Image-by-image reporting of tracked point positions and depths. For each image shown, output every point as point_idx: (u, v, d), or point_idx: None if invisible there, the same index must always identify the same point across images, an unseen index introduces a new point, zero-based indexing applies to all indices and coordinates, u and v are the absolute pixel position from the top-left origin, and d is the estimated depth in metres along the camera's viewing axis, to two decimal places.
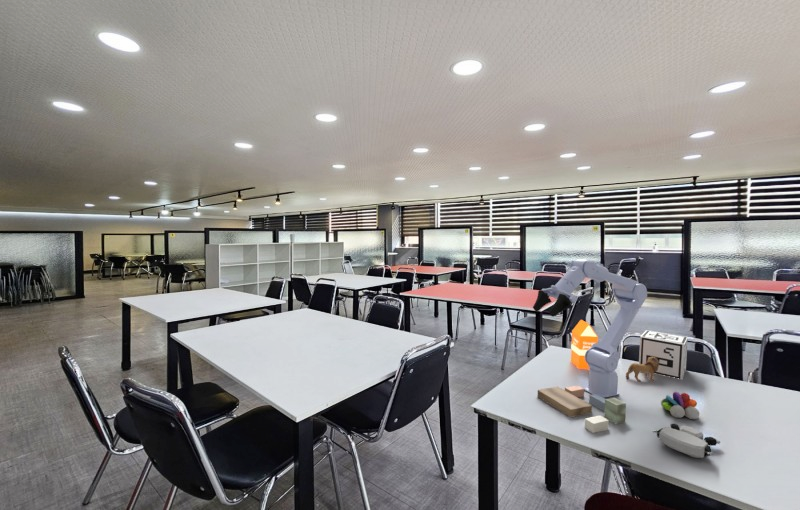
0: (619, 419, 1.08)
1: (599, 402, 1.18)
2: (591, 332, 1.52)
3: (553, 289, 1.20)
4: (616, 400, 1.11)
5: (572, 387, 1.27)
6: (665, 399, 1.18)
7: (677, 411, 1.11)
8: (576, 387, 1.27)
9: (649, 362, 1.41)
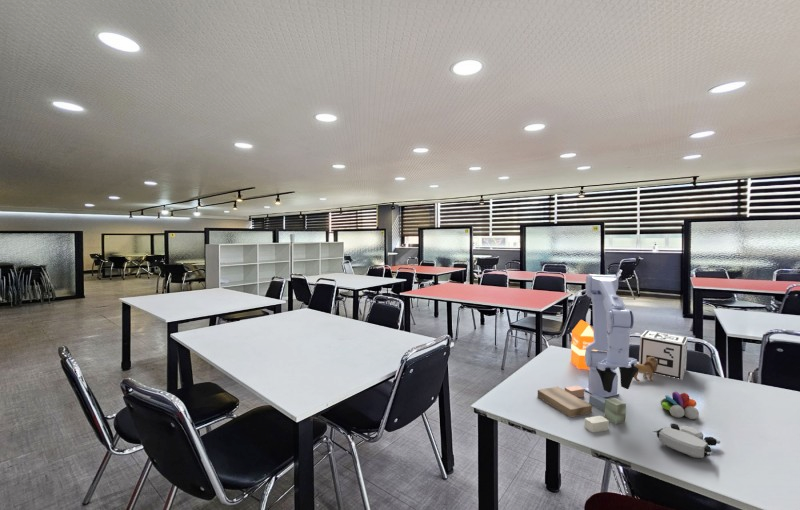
0: (619, 419, 1.08)
1: (598, 402, 1.18)
2: (591, 332, 1.52)
3: None
4: (616, 400, 1.11)
5: (572, 387, 1.27)
6: (665, 399, 1.18)
7: (676, 410, 1.11)
8: (576, 387, 1.27)
9: (648, 362, 1.41)
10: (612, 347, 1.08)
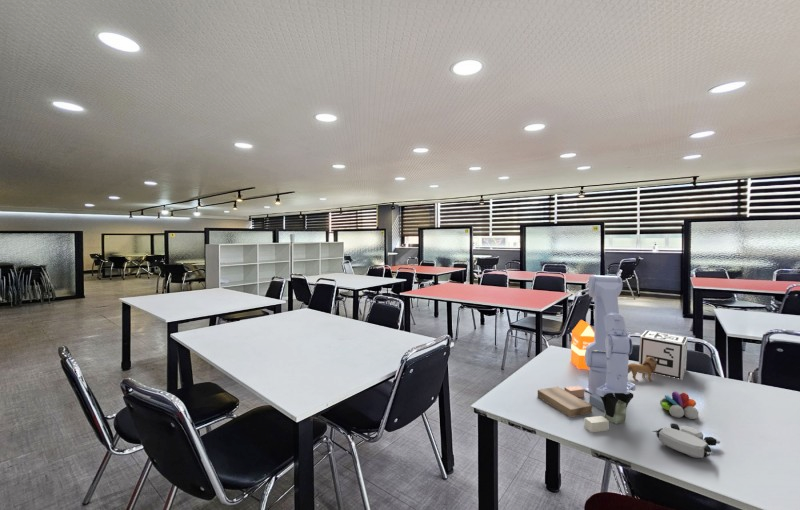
0: (619, 419, 1.08)
1: (598, 402, 1.18)
2: (591, 332, 1.52)
3: None
4: None
5: (572, 387, 1.27)
6: (664, 399, 1.18)
7: (676, 410, 1.11)
8: (576, 387, 1.27)
9: (647, 362, 1.41)
10: (611, 373, 1.08)
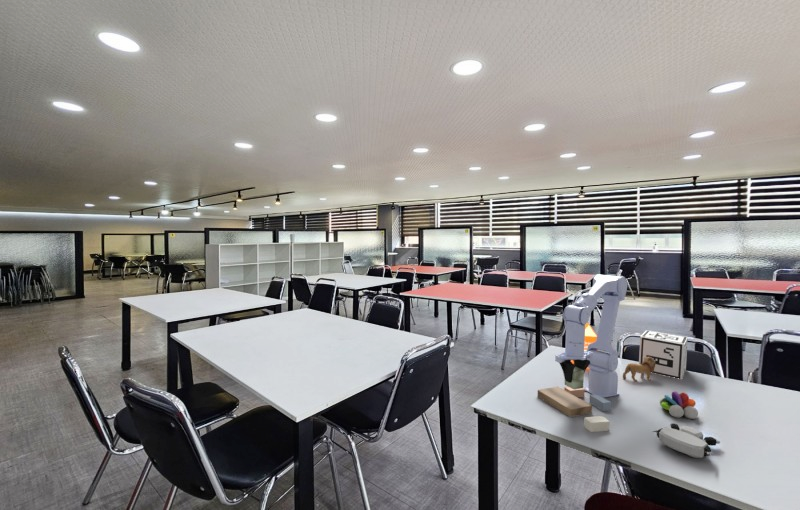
0: (577, 385, 1.16)
1: (598, 402, 1.18)
2: (591, 332, 1.52)
3: None
4: (575, 368, 1.18)
5: None
6: (664, 399, 1.18)
7: (675, 410, 1.11)
8: None
9: (646, 362, 1.41)
10: None
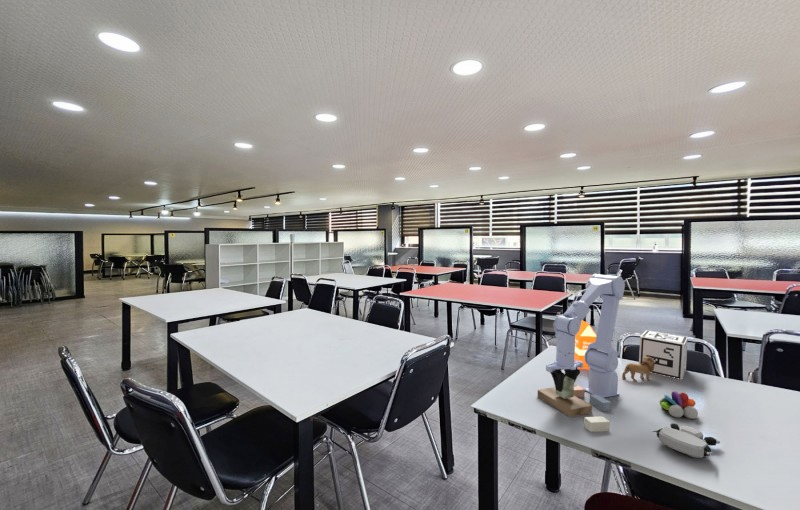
0: (567, 394, 1.18)
1: (598, 402, 1.18)
2: (591, 332, 1.52)
3: None
4: (566, 377, 1.20)
5: None
6: (664, 399, 1.18)
7: (675, 410, 1.11)
8: (576, 387, 1.27)
9: (645, 362, 1.41)
10: (556, 349, 1.20)
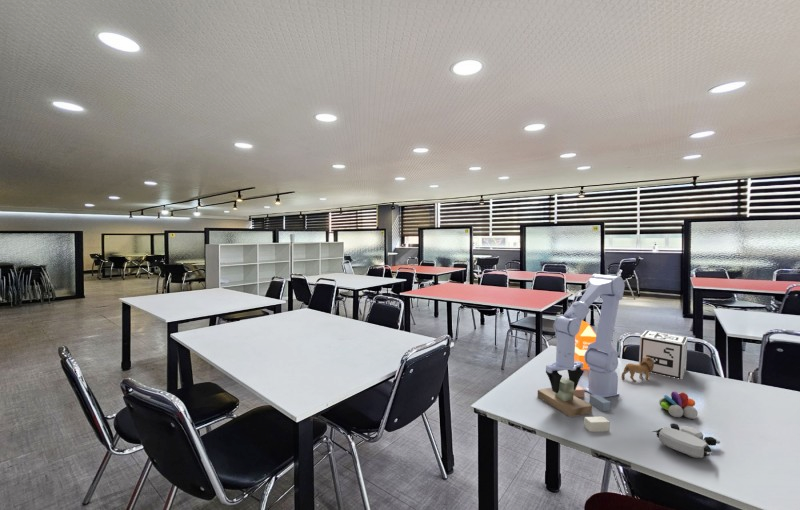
0: (567, 397, 1.18)
1: (598, 402, 1.18)
2: (591, 332, 1.52)
3: None
4: (565, 379, 1.20)
5: None
6: (663, 399, 1.18)
7: (675, 410, 1.11)
8: (577, 387, 1.27)
9: (644, 362, 1.41)
10: (556, 349, 1.20)
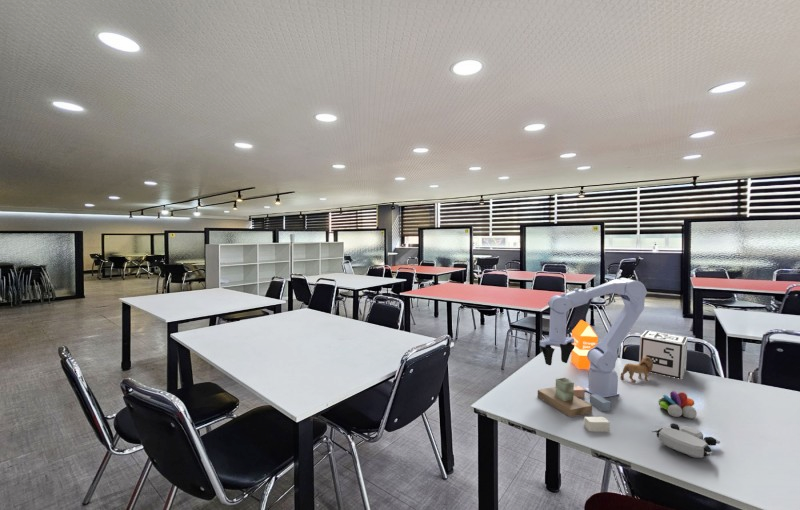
0: (567, 397, 1.18)
1: (598, 402, 1.18)
2: (591, 332, 1.52)
3: None
4: (565, 379, 1.20)
5: None
6: (663, 398, 1.18)
7: (674, 410, 1.12)
8: (577, 387, 1.27)
9: (643, 362, 1.41)
10: None
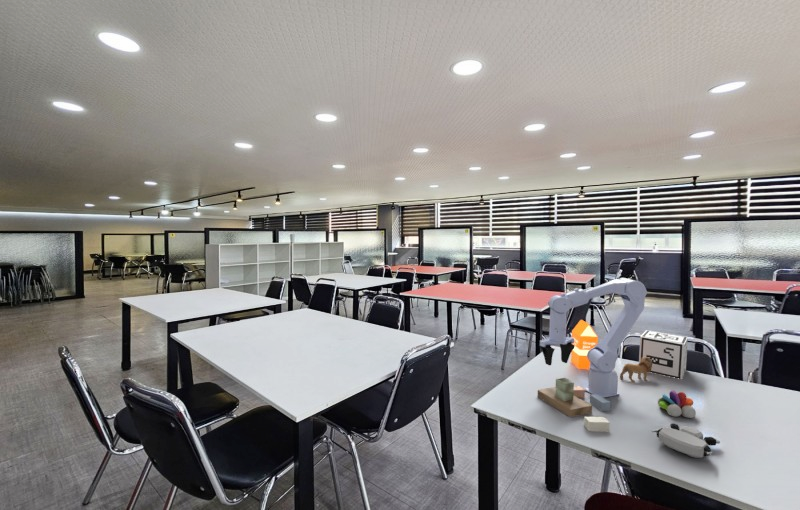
0: (567, 397, 1.18)
1: (598, 402, 1.18)
2: (591, 332, 1.52)
3: None
4: (565, 379, 1.20)
5: None
6: (662, 398, 1.18)
7: (673, 410, 1.12)
8: (577, 387, 1.27)
9: (643, 362, 1.41)
10: None
